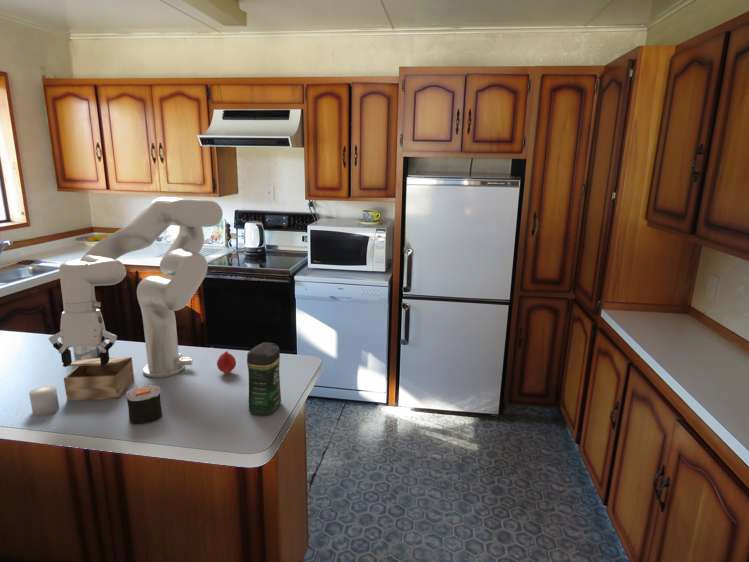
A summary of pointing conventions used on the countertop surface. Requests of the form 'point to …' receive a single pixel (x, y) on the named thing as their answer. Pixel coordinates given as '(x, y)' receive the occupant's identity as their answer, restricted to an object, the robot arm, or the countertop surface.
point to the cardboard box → (99, 381)
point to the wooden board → (98, 361)
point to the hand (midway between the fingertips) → (86, 364)
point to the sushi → (144, 404)
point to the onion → (226, 362)
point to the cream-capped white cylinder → (44, 400)
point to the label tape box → (86, 352)
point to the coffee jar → (264, 378)
